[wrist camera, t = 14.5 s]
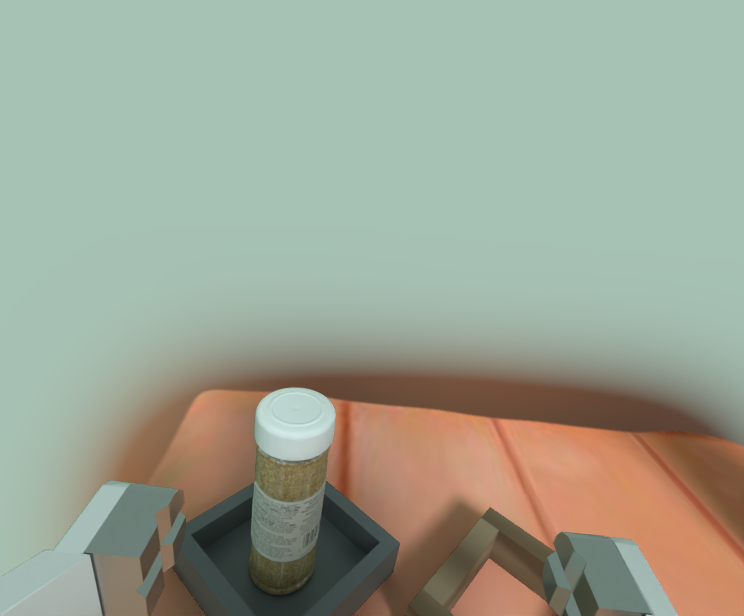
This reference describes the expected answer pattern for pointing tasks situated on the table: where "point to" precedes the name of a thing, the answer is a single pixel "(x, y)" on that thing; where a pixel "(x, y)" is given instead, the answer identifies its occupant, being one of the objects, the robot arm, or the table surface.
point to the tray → (323, 589)
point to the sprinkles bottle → (289, 486)
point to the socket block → (481, 543)
